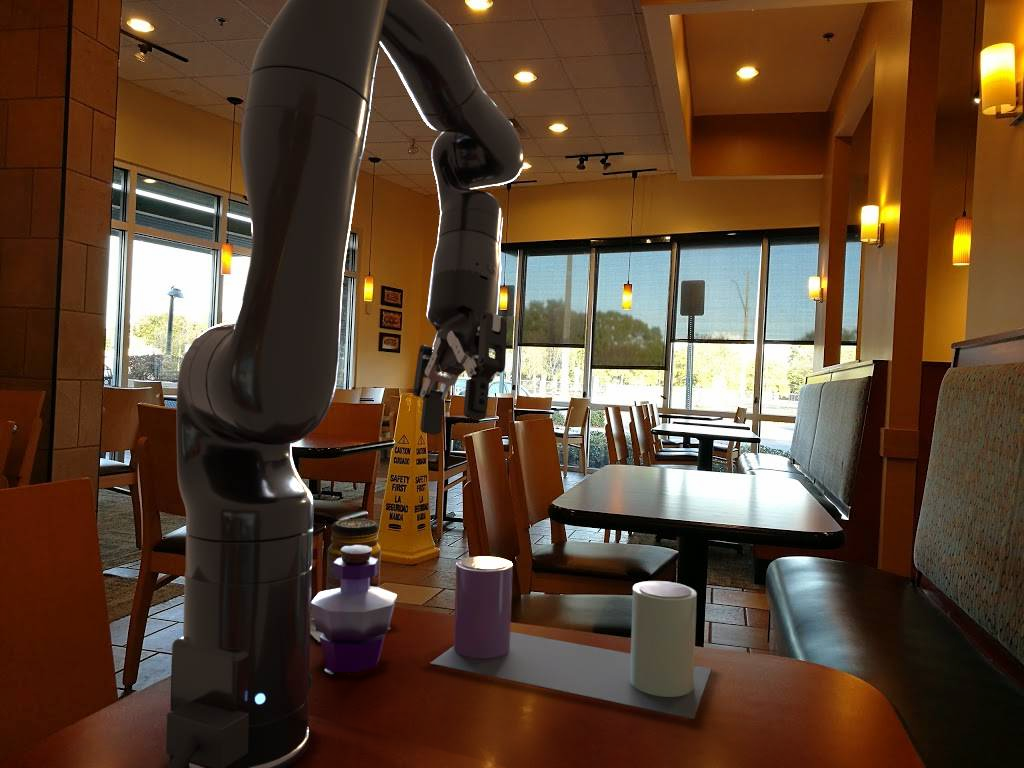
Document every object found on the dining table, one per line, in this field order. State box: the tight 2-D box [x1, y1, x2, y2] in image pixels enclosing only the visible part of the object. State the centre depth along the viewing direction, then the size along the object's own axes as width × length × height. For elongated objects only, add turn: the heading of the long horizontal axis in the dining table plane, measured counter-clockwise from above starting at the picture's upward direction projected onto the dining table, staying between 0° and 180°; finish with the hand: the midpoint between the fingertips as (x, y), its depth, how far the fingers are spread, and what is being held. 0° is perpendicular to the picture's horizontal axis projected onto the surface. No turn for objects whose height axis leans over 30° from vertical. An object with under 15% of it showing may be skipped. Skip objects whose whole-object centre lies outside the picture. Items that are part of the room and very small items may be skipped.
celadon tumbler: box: [629, 580, 698, 697], centre depth 70 cm, size 6×6×9 cm
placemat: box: [429, 631, 713, 720], centre depth 73 cm, size 12×26×1 cm, turn 67°
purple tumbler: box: [453, 555, 514, 659], centre depth 77 cm, size 6×6×9 cm
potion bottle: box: [311, 545, 398, 676], centre depth 73 cm, size 9×9×12 cm
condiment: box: [310, 518, 392, 643], centre depth 84 cm, size 7×8×12 cm
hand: (451, 426), depth 74 cm, fingers open, 8 cm apart
